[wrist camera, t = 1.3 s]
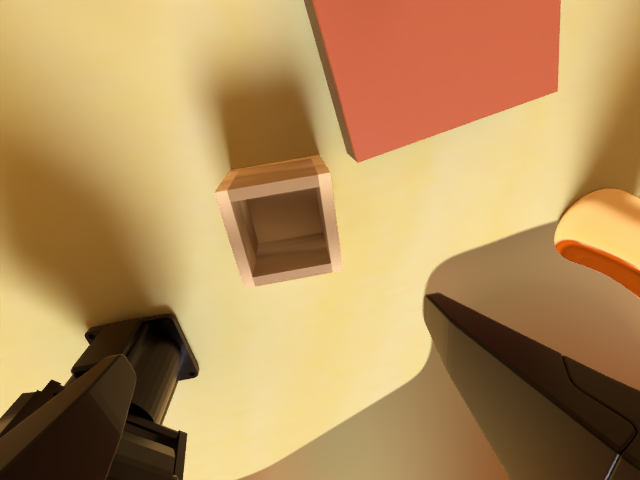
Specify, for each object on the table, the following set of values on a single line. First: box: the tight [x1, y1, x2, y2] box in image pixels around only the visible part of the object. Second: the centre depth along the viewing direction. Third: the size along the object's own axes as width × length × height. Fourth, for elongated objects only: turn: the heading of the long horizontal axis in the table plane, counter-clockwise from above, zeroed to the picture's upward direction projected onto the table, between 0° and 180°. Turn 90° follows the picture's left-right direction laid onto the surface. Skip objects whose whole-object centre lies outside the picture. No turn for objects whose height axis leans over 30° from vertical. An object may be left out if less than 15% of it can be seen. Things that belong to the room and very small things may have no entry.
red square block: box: [304, 0, 561, 162], centre depth 15 cm, size 11×11×4 cm
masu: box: [214, 155, 343, 288], centre depth 18 cm, size 6×6×5 cm
